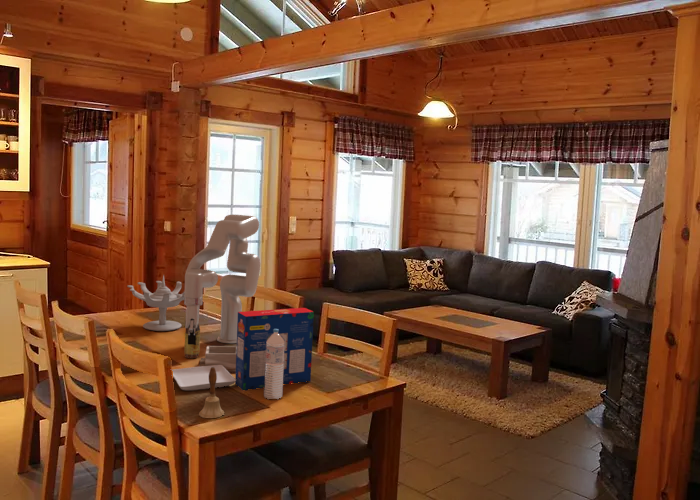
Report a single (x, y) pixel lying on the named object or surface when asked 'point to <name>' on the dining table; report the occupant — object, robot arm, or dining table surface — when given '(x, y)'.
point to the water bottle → (274, 366)
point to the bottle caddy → (220, 357)
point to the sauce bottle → (192, 349)
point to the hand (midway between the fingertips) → (192, 341)
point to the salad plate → (201, 377)
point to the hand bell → (212, 399)
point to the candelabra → (160, 304)
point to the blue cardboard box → (252, 345)
